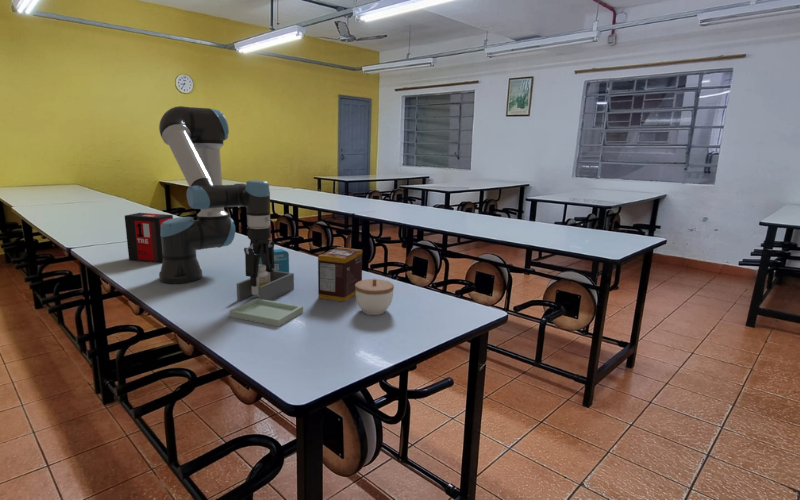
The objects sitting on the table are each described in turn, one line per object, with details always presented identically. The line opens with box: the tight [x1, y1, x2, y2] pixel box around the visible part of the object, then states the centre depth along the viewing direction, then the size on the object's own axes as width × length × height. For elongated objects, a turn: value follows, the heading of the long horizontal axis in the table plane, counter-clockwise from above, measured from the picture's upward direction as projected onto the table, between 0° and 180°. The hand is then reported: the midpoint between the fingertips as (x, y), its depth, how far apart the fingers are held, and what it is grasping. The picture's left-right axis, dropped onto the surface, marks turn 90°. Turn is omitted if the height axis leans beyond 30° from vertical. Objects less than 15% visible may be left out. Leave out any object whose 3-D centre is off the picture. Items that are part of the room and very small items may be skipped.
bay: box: [236, 270, 295, 301], centre depth 159 cm, size 10×19×6 cm, turn 160°
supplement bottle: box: [257, 265, 269, 287], centre depth 156 cm, size 5×5×10 cm
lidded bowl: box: [354, 278, 395, 316], centre depth 147 cm, size 13×13×11 cm
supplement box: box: [317, 246, 363, 303], centre depth 162 cm, size 10×15×16 cm
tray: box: [229, 297, 304, 327], centre depth 141 cm, size 18×13×2 cm
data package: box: [255, 248, 290, 273], centre depth 175 cm, size 12×4×12 cm, turn 129°
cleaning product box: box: [124, 212, 174, 264], centre depth 199 cm, size 16×9×20 cm, turn 80°
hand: (261, 292), depth 157 cm, fingers closed on supplement bottle, 5 cm apart
